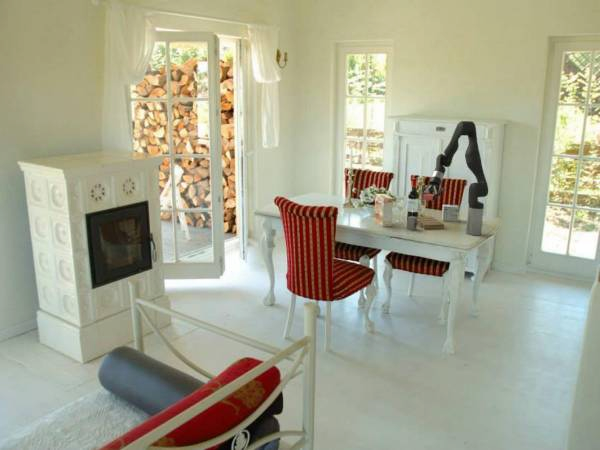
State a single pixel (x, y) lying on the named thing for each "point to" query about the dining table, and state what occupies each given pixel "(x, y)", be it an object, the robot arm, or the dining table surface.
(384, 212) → the coffeecake box
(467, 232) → the robot arm
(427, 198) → the red lid
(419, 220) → the walnut board
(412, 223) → the grey tin
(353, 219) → the dining table surface
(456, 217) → the light bulb box
